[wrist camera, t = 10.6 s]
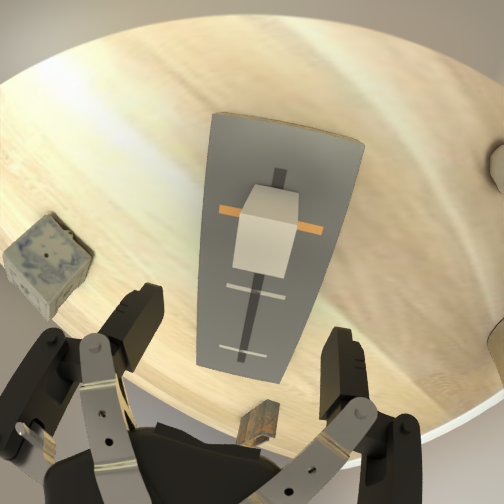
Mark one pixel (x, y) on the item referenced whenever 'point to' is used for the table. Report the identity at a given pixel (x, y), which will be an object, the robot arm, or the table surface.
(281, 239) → the fader knob
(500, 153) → the salt shaker
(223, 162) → the fader console
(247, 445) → the rusty notched block
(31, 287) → the incense holder
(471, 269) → the table surface
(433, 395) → the table surface
